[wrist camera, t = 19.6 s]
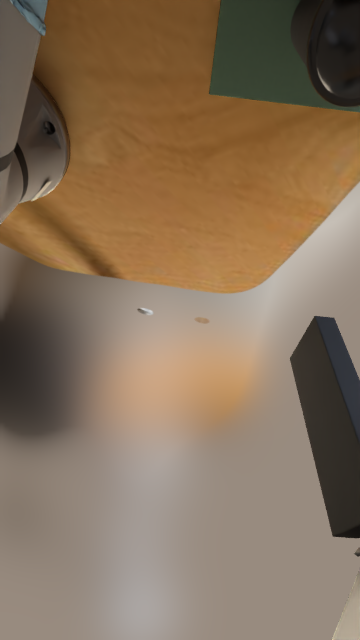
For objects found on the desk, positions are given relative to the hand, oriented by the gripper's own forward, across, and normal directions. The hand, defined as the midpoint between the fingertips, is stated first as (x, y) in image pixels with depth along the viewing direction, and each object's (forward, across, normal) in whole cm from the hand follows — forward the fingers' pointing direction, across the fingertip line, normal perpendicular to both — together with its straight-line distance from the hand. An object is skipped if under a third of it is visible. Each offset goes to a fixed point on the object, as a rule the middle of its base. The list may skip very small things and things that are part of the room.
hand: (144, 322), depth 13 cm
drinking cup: (+32, +12, +8) cm, 35 cm away
